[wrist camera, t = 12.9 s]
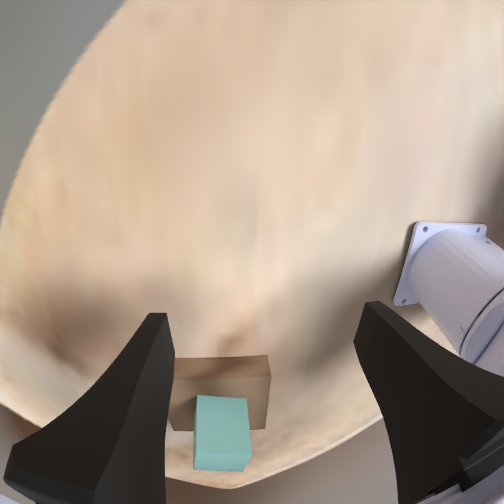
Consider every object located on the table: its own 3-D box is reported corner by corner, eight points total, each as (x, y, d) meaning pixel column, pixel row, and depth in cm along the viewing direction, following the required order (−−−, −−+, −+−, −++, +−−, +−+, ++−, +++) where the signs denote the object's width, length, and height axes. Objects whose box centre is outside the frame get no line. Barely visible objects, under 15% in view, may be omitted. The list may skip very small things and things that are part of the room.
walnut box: (266, 351, 26) (270, 376, 24) (261, 407, 31) (264, 428, 28) (158, 353, 25) (153, 378, 23) (175, 409, 30) (173, 430, 28)
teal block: (246, 398, 25) (252, 455, 20) (237, 421, 27) (242, 471, 22) (197, 394, 24) (196, 452, 19) (194, 418, 26) (193, 469, 21)
